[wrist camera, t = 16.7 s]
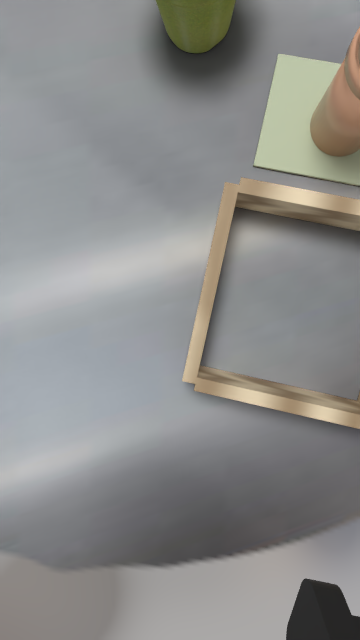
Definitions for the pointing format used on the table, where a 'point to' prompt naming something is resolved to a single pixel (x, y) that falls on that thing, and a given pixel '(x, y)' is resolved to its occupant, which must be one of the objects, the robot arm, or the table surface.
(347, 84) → the seedling pot
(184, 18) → the plant pot
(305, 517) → the table surface
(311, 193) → the frame
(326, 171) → the green mat
